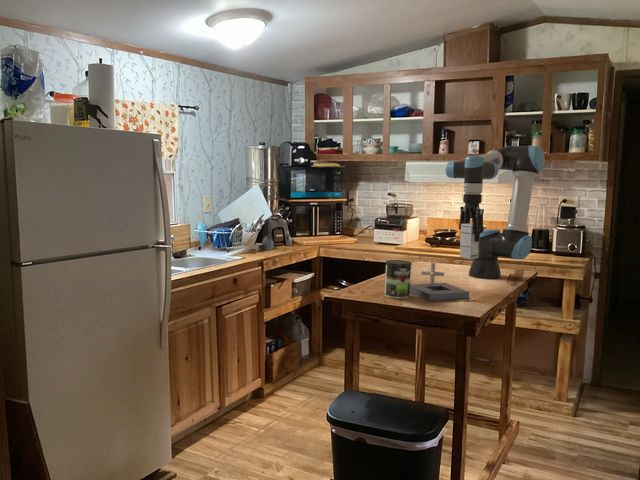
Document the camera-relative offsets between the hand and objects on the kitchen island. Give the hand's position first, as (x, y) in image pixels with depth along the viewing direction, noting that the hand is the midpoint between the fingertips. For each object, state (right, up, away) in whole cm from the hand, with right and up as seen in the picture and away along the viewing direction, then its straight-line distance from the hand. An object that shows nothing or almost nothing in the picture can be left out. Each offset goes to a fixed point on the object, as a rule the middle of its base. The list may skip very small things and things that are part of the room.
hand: (469, 248), depth 232 cm
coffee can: (-32, -20, -8) cm, 38 cm away
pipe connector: (-13, -17, +16) cm, 26 cm away
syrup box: (0, -4, +1) cm, 4 cm away
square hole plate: (-15, -19, -6) cm, 25 cm away
